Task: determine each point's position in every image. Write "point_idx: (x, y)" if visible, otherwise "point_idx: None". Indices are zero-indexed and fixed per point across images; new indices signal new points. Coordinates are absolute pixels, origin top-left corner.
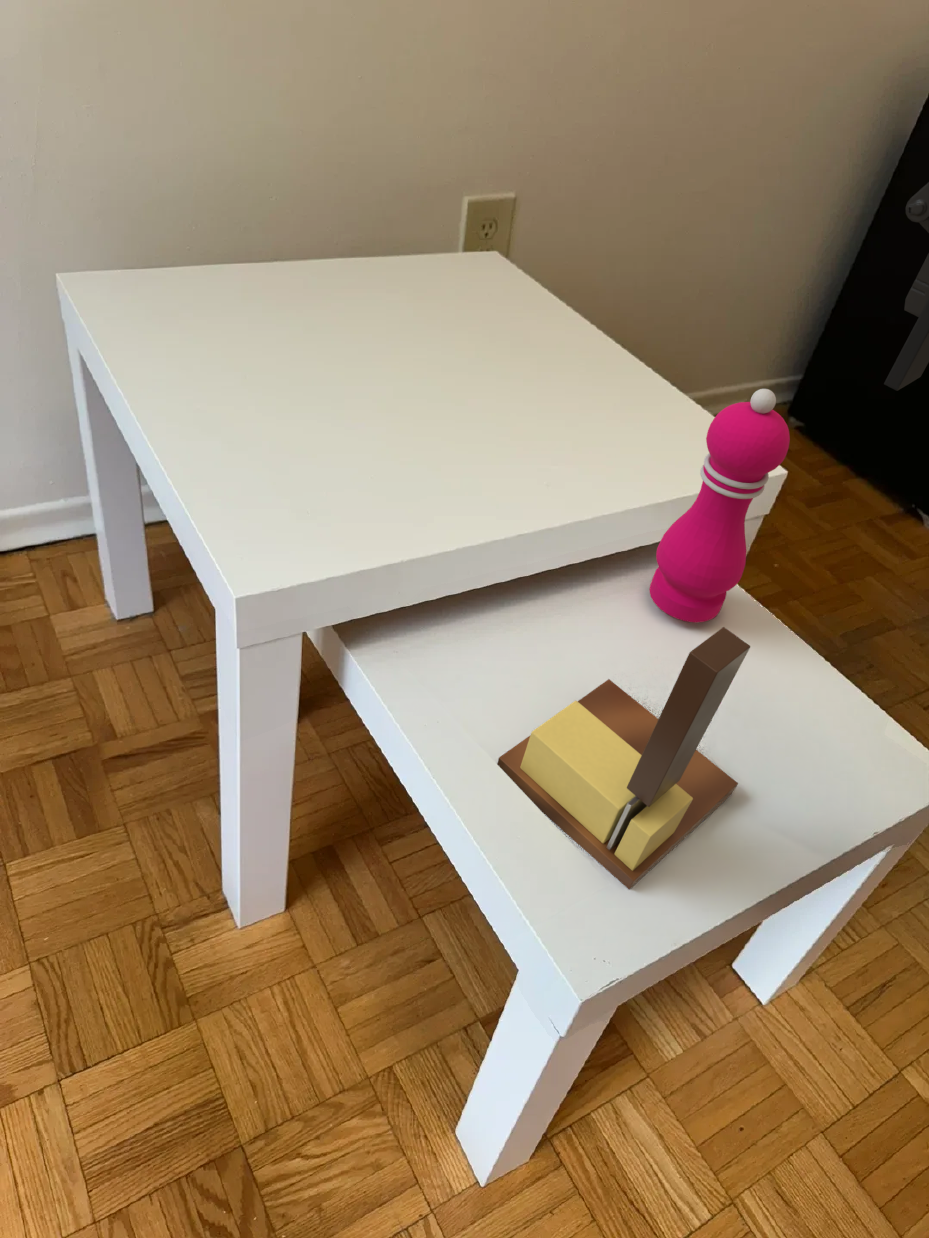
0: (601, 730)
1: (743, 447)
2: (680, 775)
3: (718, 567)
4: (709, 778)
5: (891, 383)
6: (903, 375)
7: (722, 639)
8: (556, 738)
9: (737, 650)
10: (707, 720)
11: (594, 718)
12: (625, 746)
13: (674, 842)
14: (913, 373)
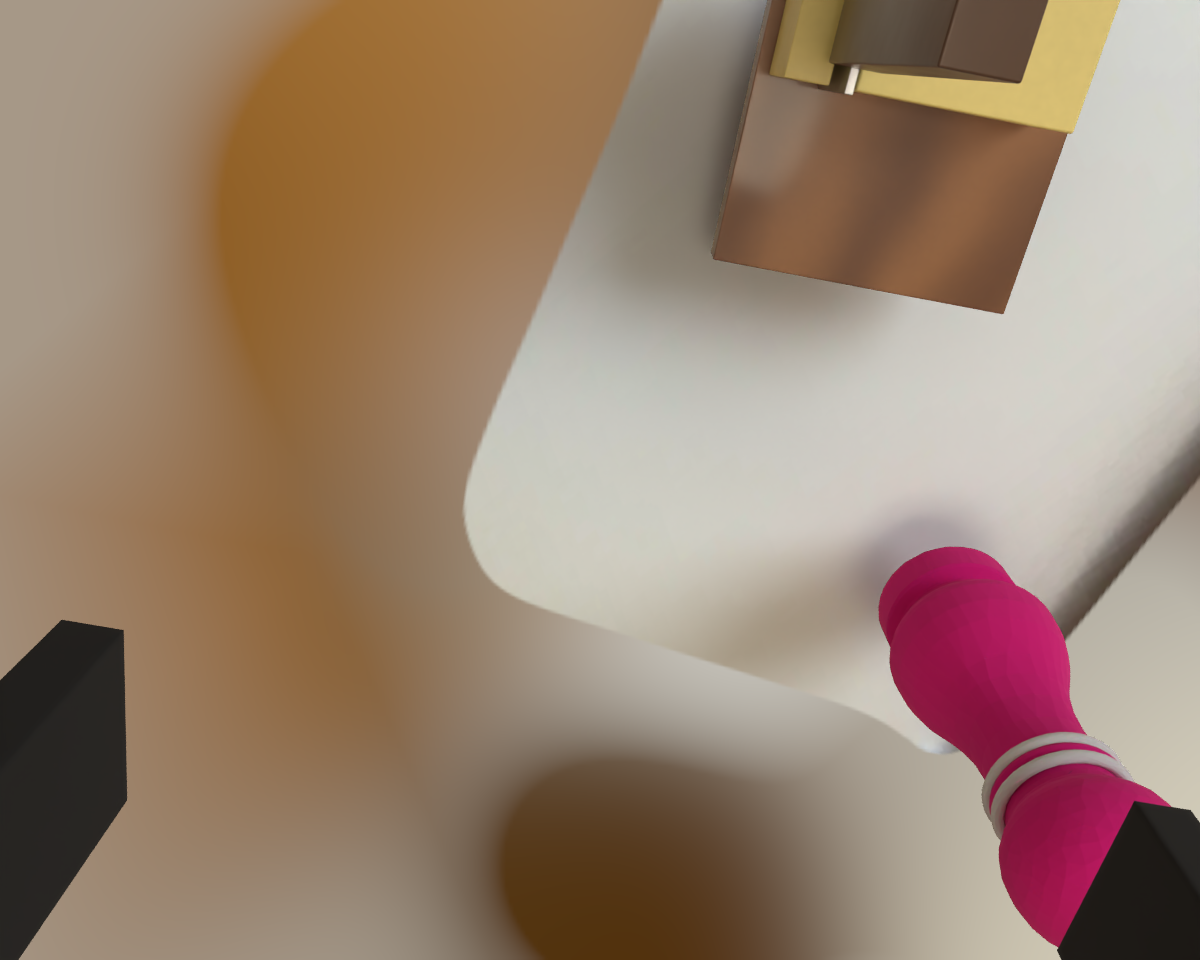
0: (998, 99)
1: (1112, 817)
2: (836, 49)
3: (948, 632)
4: (759, 232)
5: (1173, 818)
6: (1173, 851)
7: (1011, 31)
8: (1072, 10)
9: (964, 22)
10: (882, 33)
11: (1022, 116)
12: (942, 96)
13: (760, 55)
14: (1120, 909)
